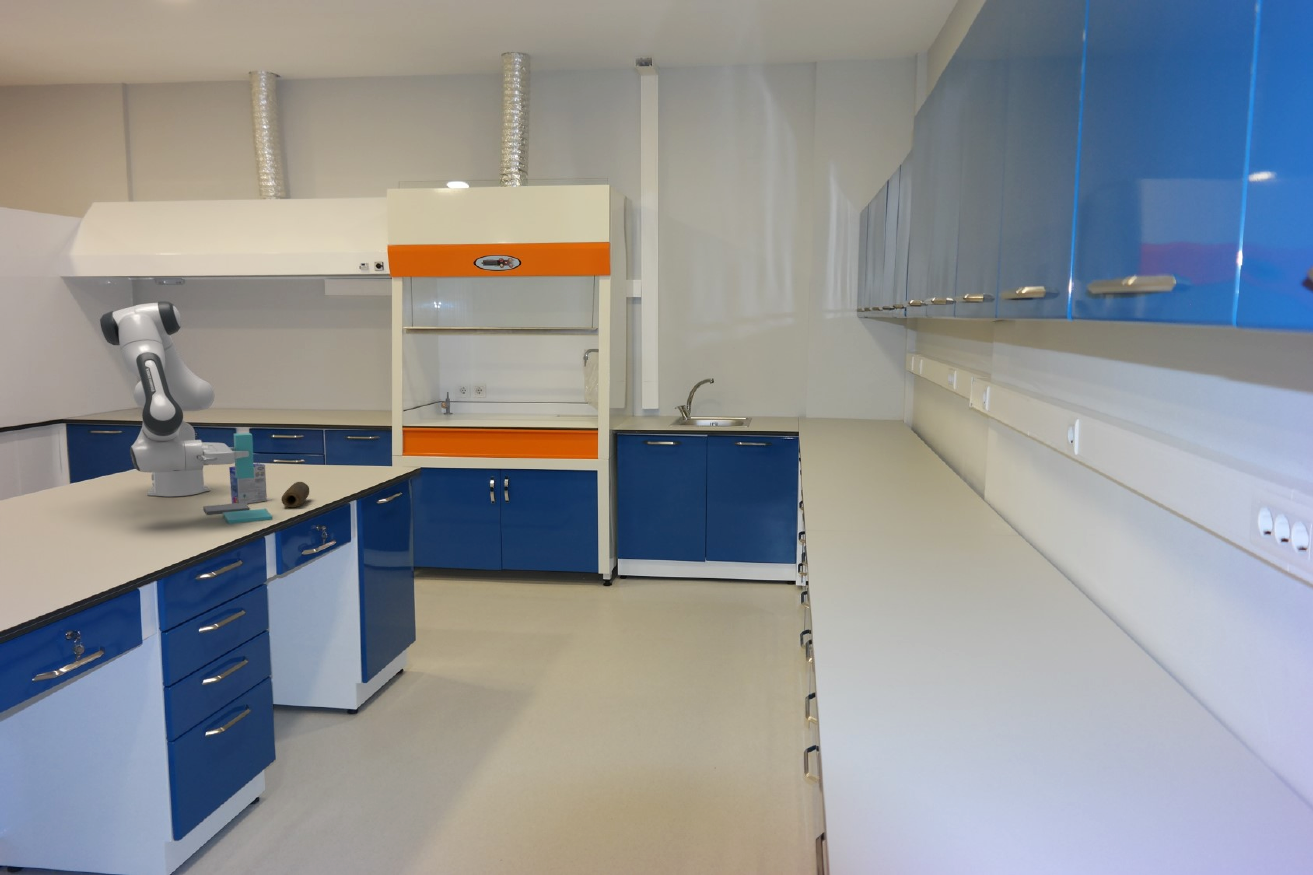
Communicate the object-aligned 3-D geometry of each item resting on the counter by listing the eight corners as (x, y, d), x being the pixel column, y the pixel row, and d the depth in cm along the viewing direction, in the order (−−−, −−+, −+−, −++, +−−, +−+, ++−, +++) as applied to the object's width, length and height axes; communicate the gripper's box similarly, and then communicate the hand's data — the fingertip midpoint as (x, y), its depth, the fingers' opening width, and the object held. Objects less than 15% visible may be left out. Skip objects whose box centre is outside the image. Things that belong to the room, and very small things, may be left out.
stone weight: (288, 500, 299) (287, 480, 298) (310, 499, 301) (309, 480, 300) (280, 509, 285) (280, 489, 284) (304, 509, 286) (303, 488, 285)
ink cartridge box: (259, 498, 300) (257, 455, 298) (268, 501, 297) (266, 457, 295) (229, 503, 292) (228, 459, 291) (238, 505, 289) (236, 461, 287)
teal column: (235, 476, 271) (233, 433, 270) (251, 475, 274) (249, 432, 272) (237, 478, 268) (235, 435, 266) (253, 477, 270) (252, 434, 268)
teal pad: (222, 515, 274) (222, 512, 274) (265, 511, 281) (265, 508, 281) (228, 523, 264) (228, 520, 264) (272, 519, 271) (272, 516, 271)
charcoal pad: (203, 509, 283) (203, 506, 282) (245, 505, 289) (244, 502, 289) (206, 514, 275) (206, 511, 275) (249, 511, 281) (249, 507, 281)
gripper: (198, 449, 254) (252, 446, 261) (191, 440, 271) (241, 437, 278) (199, 471, 255) (252, 467, 262) (192, 460, 272) (242, 457, 279)
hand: (246, 452), depth 270 cm, fingers closed on teal column, 4 cm apart
